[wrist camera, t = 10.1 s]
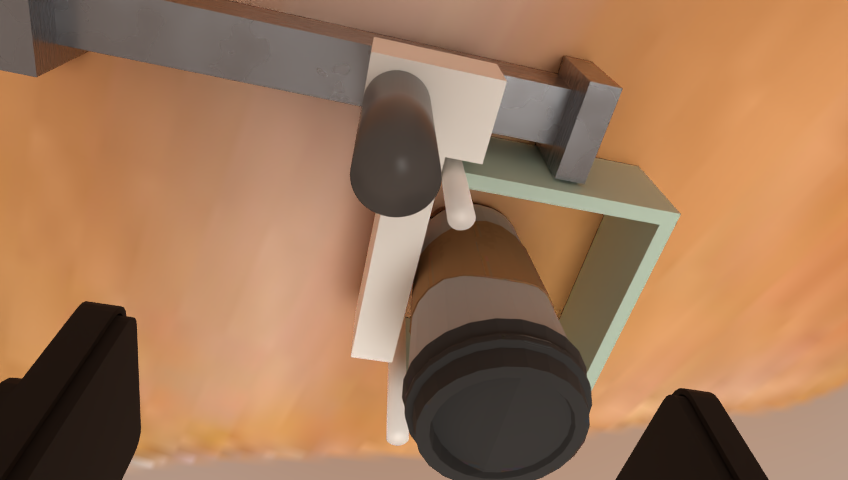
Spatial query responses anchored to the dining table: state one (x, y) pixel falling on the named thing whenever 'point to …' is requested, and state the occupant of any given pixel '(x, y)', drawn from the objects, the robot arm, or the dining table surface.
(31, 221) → the dining table surface
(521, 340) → the coffee cup
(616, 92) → the rail
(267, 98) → the dining table surface
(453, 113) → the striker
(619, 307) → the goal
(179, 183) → the dining table surface
